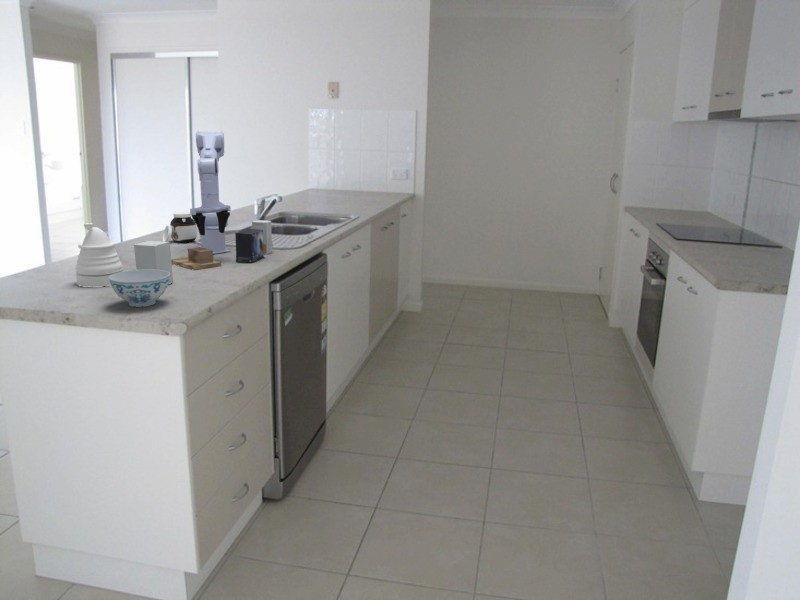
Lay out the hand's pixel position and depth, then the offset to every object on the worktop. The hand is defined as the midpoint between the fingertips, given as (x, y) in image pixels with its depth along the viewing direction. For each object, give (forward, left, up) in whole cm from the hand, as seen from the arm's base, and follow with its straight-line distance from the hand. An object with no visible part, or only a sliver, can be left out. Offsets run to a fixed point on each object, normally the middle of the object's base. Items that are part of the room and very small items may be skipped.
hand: (212, 233), depth 228 cm
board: (0, -7, -10) cm, 12 cm away
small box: (+6, +11, -10) cm, 16 cm away
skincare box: (-1, +22, -10) cm, 24 cm away
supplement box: (+18, -31, -10) cm, 37 cm away
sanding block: (+4, -7, -9) cm, 12 cm away
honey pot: (+4, -41, -10) cm, 43 cm away
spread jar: (-43, +12, -10) cm, 46 cm away
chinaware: (+35, -44, -10) cm, 57 cm away
